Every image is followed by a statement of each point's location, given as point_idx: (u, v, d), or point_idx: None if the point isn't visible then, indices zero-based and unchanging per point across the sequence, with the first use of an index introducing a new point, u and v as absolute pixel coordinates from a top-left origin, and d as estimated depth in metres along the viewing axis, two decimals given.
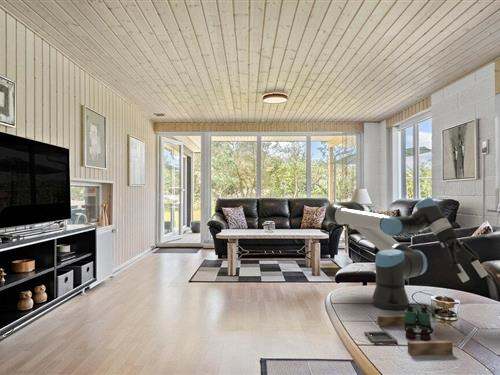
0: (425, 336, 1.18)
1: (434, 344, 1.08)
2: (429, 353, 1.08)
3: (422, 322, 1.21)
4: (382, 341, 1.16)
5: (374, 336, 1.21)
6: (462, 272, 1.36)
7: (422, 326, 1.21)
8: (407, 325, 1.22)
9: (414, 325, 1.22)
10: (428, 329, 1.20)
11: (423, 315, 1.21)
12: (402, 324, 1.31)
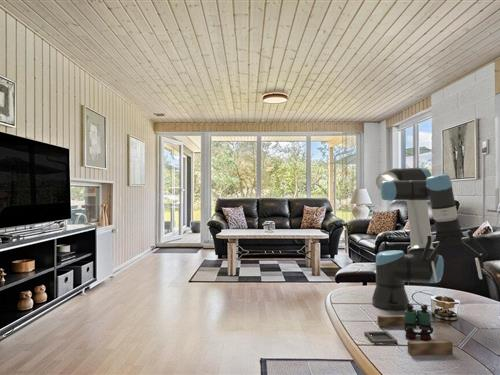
0: (425, 336, 1.18)
1: (434, 344, 1.08)
2: (429, 353, 1.08)
3: (422, 322, 1.21)
4: (382, 341, 1.16)
5: (374, 336, 1.21)
6: (433, 272, 1.26)
7: (422, 326, 1.21)
8: (407, 325, 1.22)
9: (414, 325, 1.22)
10: (428, 329, 1.20)
11: (423, 315, 1.21)
12: (402, 324, 1.31)
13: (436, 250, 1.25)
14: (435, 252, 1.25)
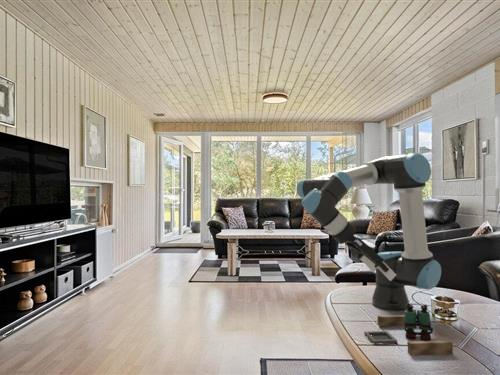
0: (425, 336, 1.18)
1: (434, 344, 1.08)
2: (429, 353, 1.08)
3: (422, 322, 1.21)
4: (382, 341, 1.16)
5: (374, 336, 1.21)
6: None
7: (422, 326, 1.21)
8: (407, 325, 1.22)
9: (414, 325, 1.22)
10: (428, 329, 1.20)
11: (423, 315, 1.21)
12: (402, 324, 1.31)
13: (353, 250, 1.24)
14: (354, 251, 1.25)
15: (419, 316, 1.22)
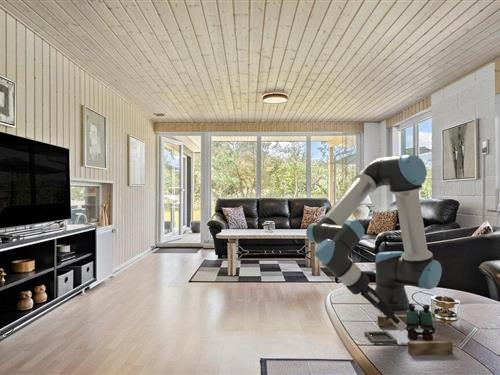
0: (427, 336, 1.18)
1: (434, 344, 1.08)
2: (429, 353, 1.08)
3: (424, 322, 1.21)
4: (382, 341, 1.16)
5: (374, 336, 1.21)
6: None
7: (424, 326, 1.21)
8: (409, 325, 1.22)
9: (416, 325, 1.22)
10: (430, 329, 1.20)
11: (425, 315, 1.21)
12: None
13: None
14: (375, 305, 1.21)
15: (421, 316, 1.22)
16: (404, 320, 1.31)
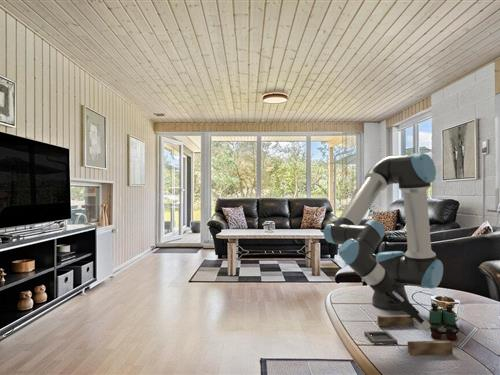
0: (451, 335, 1.18)
1: (434, 344, 1.08)
2: (429, 353, 1.08)
3: (448, 321, 1.21)
4: (382, 341, 1.16)
5: (374, 336, 1.21)
6: None
7: (448, 325, 1.21)
8: (432, 325, 1.23)
9: (439, 324, 1.22)
10: (453, 328, 1.21)
11: (448, 314, 1.21)
12: (402, 324, 1.31)
13: (397, 303, 1.21)
14: (399, 305, 1.21)
15: (444, 315, 1.22)
16: (404, 320, 1.31)
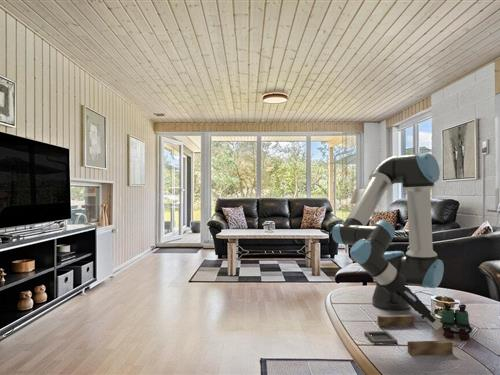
0: (464, 335, 1.19)
1: (434, 344, 1.08)
2: (429, 353, 1.08)
3: (460, 321, 1.21)
4: (382, 341, 1.16)
5: (374, 336, 1.21)
6: None
7: (460, 325, 1.21)
8: (445, 324, 1.23)
9: (452, 324, 1.22)
10: (466, 328, 1.21)
11: (461, 314, 1.21)
12: (402, 324, 1.31)
13: None
14: (410, 304, 1.22)
15: (457, 315, 1.22)
16: (404, 320, 1.31)
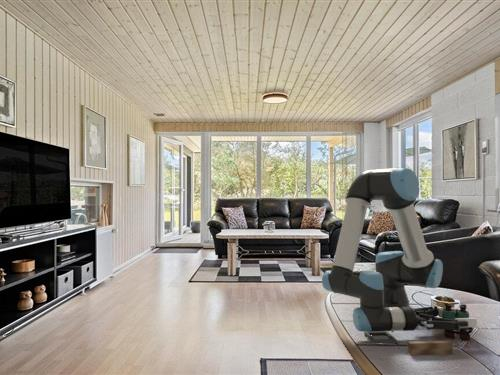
0: (464, 335, 1.18)
1: (434, 344, 1.08)
2: (429, 353, 1.08)
3: None
4: (382, 341, 1.16)
5: (374, 336, 1.21)
6: None
7: None
8: None
9: None
10: (467, 328, 1.21)
11: (461, 314, 1.21)
12: None
13: None
14: None
15: (458, 315, 1.22)
16: None
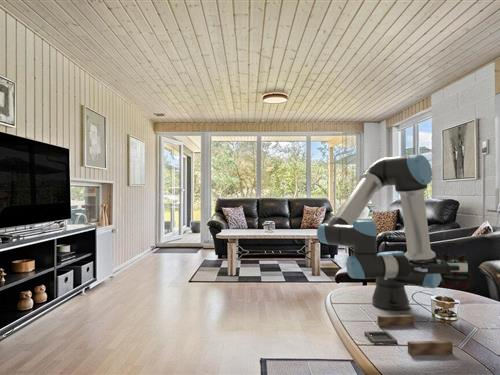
0: (463, 284, 1.17)
1: (434, 344, 1.08)
2: (429, 353, 1.08)
3: None
4: (382, 341, 1.16)
5: (374, 336, 1.21)
6: None
7: (460, 275, 1.20)
8: (444, 274, 1.21)
9: (451, 274, 1.21)
10: (466, 278, 1.19)
11: None
12: (402, 324, 1.31)
13: None
14: None
15: None
16: (404, 320, 1.31)
